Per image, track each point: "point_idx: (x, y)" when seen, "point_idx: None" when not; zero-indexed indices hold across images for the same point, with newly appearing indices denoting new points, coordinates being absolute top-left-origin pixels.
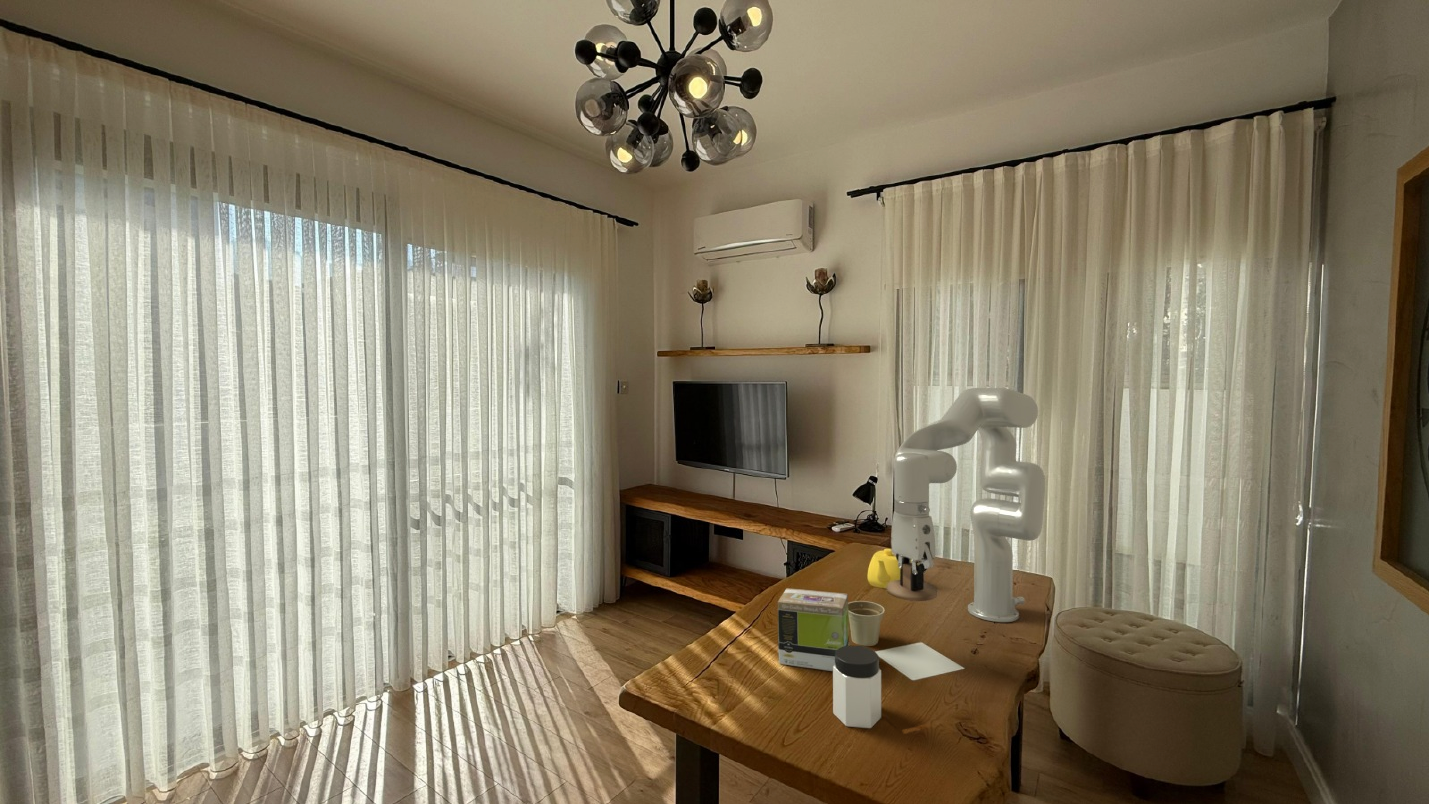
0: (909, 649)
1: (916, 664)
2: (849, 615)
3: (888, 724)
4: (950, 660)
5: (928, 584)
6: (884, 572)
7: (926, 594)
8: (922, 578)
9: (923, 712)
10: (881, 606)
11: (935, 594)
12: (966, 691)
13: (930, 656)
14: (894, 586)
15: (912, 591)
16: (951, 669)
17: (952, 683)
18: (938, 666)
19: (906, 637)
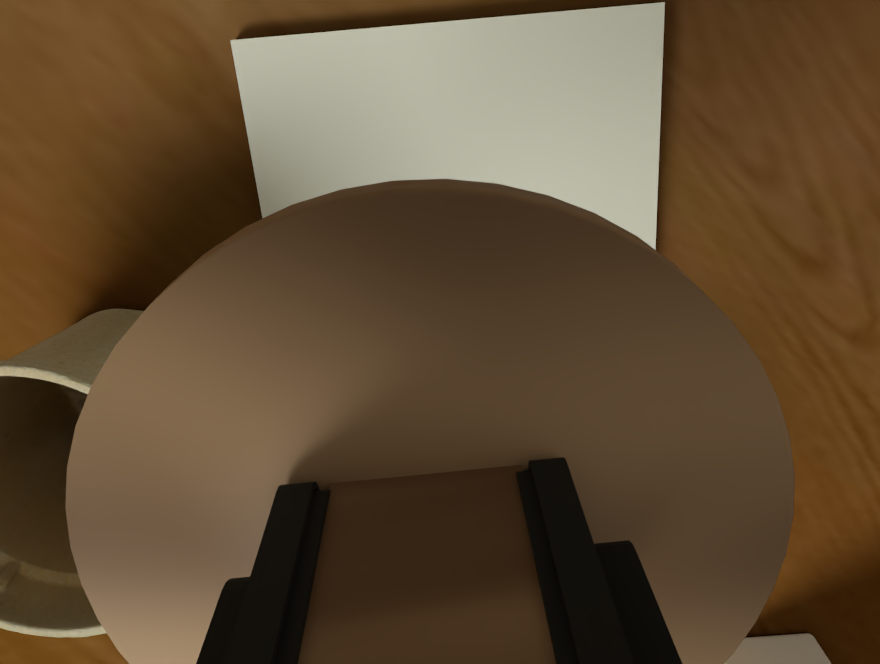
0: (318, 194)
1: None
2: (86, 598)
3: (853, 625)
4: (538, 19)
5: (387, 242)
6: None
7: (739, 515)
8: (668, 644)
9: (864, 473)
10: (8, 374)
11: (760, 372)
12: (838, 166)
13: (445, 119)
14: None
15: None
16: (641, 102)
17: (738, 184)
18: (579, 158)
19: (99, 71)
